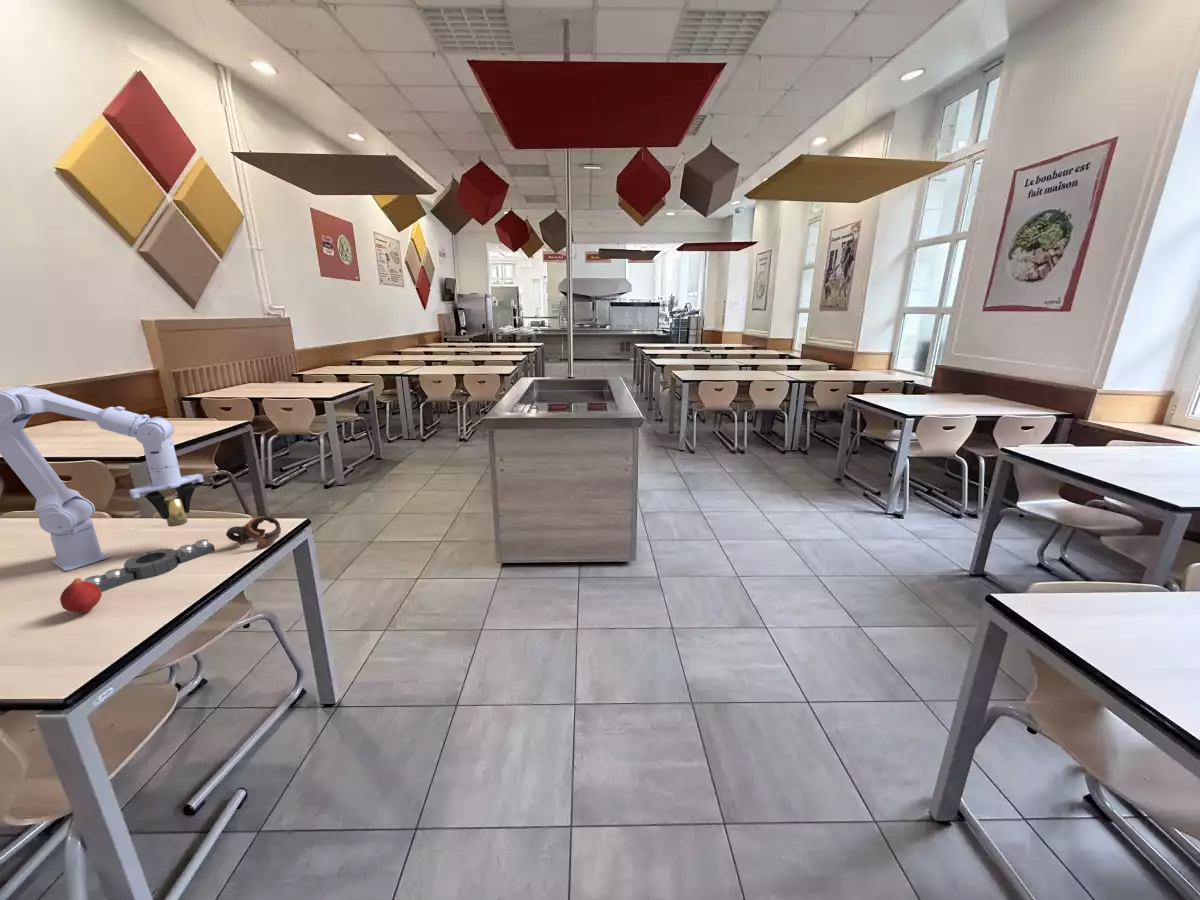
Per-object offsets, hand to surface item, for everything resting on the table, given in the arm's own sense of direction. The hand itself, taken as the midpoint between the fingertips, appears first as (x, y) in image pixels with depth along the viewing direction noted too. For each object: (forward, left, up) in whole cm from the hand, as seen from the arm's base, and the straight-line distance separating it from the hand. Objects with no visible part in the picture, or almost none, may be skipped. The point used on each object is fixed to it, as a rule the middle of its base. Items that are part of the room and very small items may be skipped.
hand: (175, 515), depth 127 cm
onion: (+17, -24, -10) cm, 31 cm away
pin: (0, 0, -2) cm, 2 cm away
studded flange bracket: (+7, -9, -9) cm, 15 cm away
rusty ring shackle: (+14, +11, -10) cm, 20 cm away
